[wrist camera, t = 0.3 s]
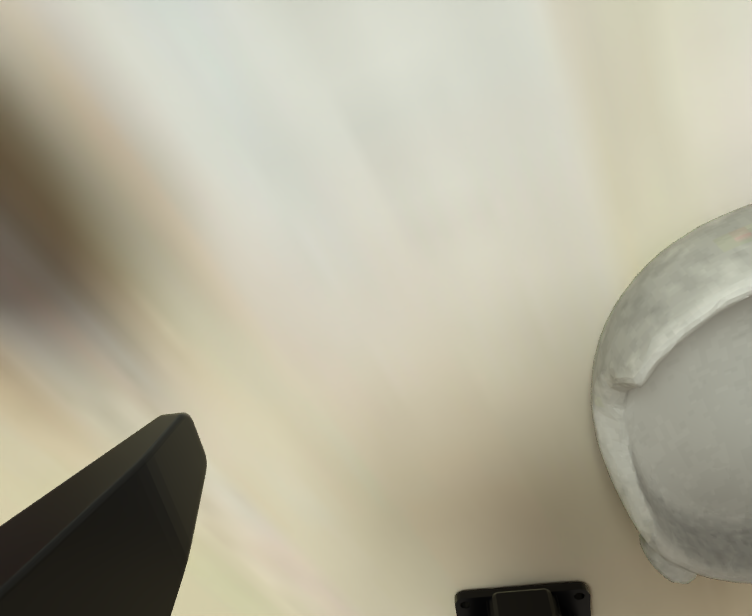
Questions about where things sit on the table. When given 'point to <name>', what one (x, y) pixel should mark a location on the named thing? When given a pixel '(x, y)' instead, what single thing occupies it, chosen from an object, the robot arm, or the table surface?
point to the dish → (684, 402)
